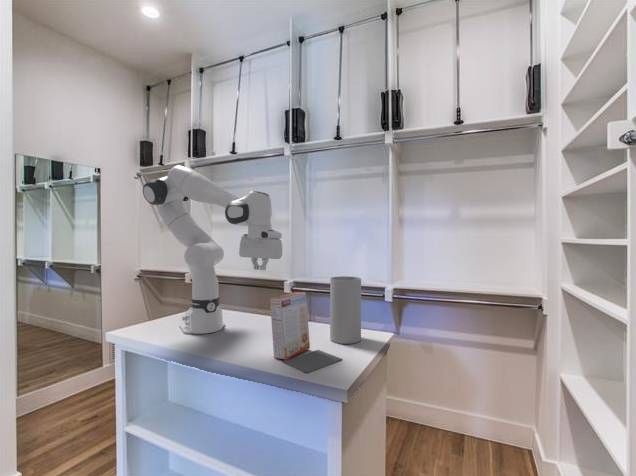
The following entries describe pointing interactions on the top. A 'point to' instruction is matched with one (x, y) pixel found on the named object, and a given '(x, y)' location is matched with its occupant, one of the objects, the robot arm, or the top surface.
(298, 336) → the cracker box
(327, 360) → the mat
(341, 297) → the cylinder vase
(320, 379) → the top surface
